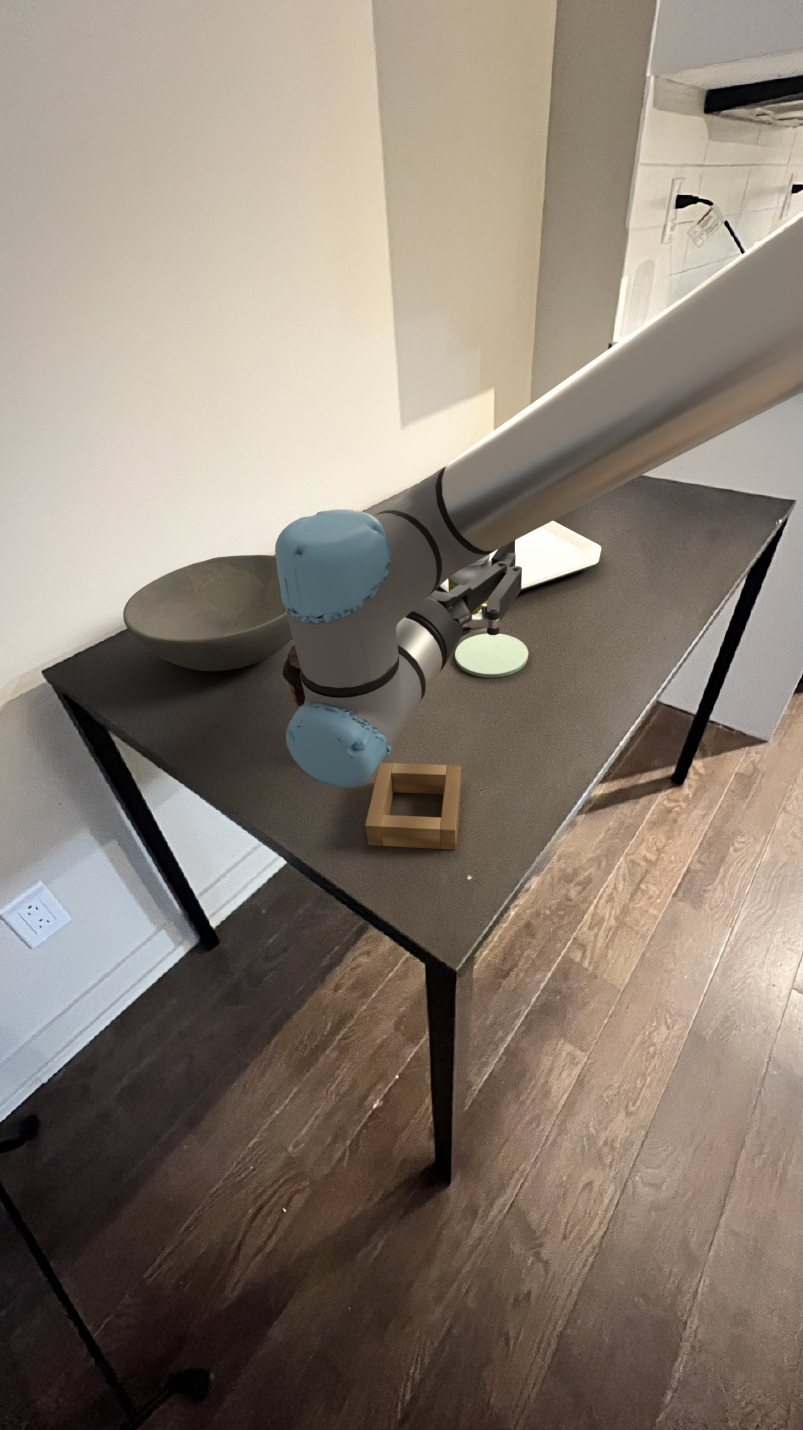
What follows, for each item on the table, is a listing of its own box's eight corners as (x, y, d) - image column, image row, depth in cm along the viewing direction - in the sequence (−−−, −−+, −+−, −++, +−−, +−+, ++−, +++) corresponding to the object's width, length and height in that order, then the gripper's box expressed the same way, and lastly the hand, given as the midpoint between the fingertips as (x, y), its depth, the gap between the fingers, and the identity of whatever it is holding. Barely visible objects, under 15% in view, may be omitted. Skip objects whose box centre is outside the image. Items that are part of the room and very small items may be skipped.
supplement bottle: (443, 632, 73) (439, 554, 67) (457, 609, 77) (454, 534, 71) (488, 637, 71) (489, 558, 65) (500, 614, 75) (501, 537, 69)
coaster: (527, 636, 89) (527, 633, 89) (529, 678, 81) (529, 674, 81) (457, 636, 90) (457, 633, 90) (452, 677, 83) (452, 673, 83)
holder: (461, 784, 68) (461, 765, 66) (456, 850, 61) (455, 830, 59) (382, 781, 69) (379, 762, 67) (368, 845, 62) (364, 825, 61)
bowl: (110, 671, 91) (82, 611, 85) (239, 591, 107) (224, 536, 101) (234, 727, 79) (212, 662, 72) (360, 627, 95) (351, 567, 88)
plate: (618, 566, 102) (620, 554, 101) (466, 618, 94) (466, 605, 93) (517, 512, 123) (518, 501, 122) (385, 550, 115) (384, 539, 113)
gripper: (325, 665, 63) (416, 563, 78) (503, 700, 56) (563, 581, 72) (312, 599, 58) (411, 504, 74) (505, 629, 51) (568, 517, 67)
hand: (486, 542), depth 73 cm, fingers closed on supplement bottle, 5 cm apart
